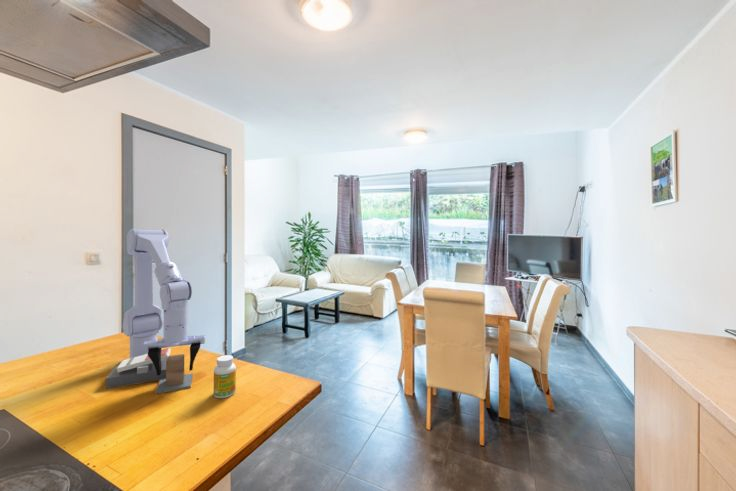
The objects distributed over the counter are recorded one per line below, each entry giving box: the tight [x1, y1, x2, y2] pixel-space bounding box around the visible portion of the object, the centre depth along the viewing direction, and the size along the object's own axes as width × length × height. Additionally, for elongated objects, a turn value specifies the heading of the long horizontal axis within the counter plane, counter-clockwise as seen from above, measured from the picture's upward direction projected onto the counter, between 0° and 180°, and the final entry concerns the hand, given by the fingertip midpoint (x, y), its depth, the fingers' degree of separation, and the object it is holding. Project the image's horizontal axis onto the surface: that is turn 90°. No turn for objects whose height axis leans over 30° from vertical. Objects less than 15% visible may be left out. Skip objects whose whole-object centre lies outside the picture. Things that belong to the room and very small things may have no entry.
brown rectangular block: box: [166, 353, 185, 387], centre depth 85 cm, size 4×4×7 cm
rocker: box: [117, 347, 172, 372], centre depth 89 cm, size 6×12×1 cm, turn 116°
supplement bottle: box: [213, 354, 237, 399], centre depth 80 cm, size 5×5×10 cm
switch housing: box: [105, 359, 167, 389], centre depth 89 cm, size 9×16×4 cm, turn 116°
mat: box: [155, 373, 194, 394], centre depth 85 cm, size 8×8×1 cm
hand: (175, 371), depth 85 cm, fingers open, 7 cm apart
